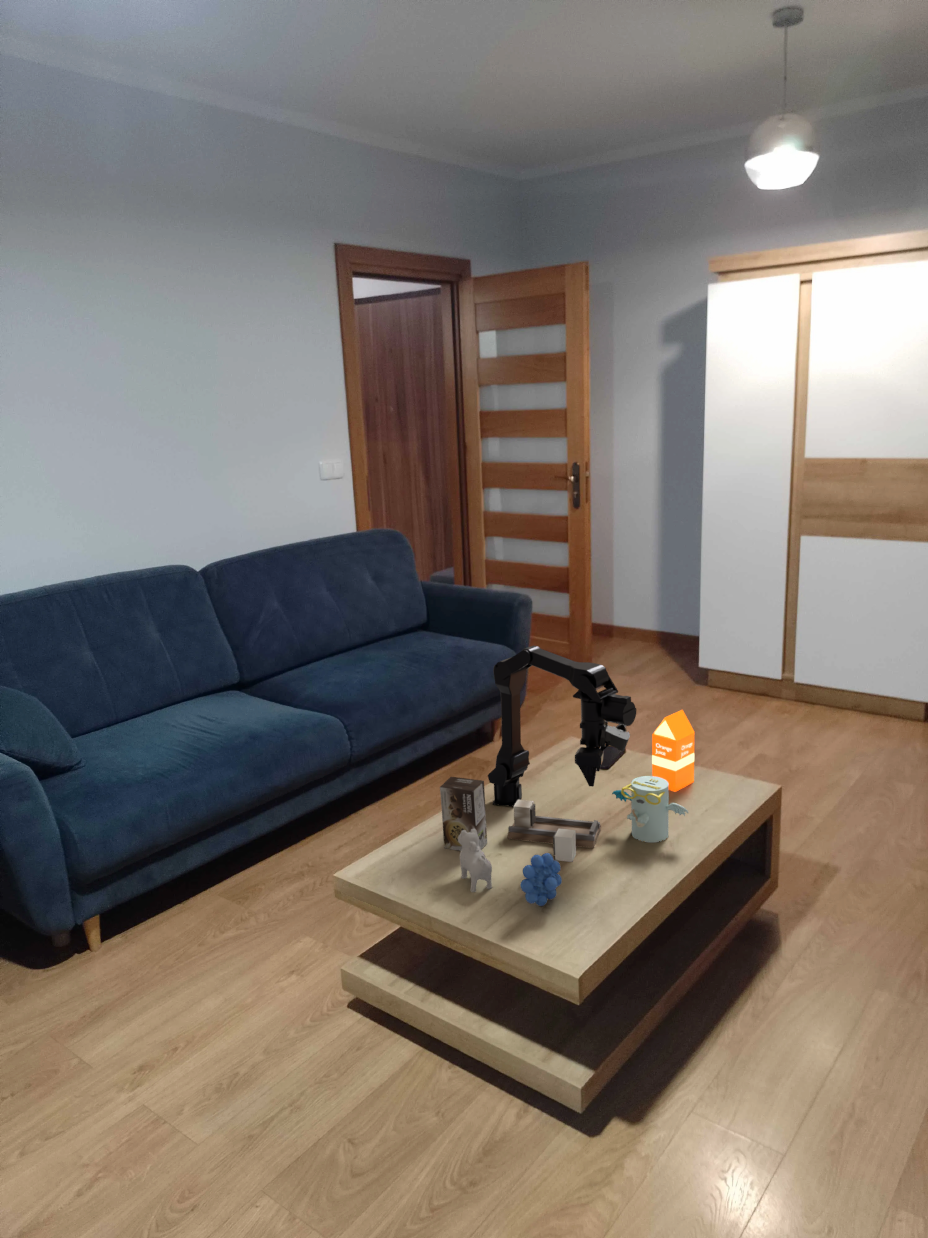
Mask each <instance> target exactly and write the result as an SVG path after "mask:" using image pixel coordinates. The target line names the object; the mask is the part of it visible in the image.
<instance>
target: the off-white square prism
mask: <svg viewBox="0 0 928 1238" xmlns="http://www.w3.org/2000/svg"><path fill="white" fill-rule="evenodd" d="M552 848H553V849H552V851H553V854H552V856H555V857H554V860H556V861H562V862H569V863H573V862H574V859H575V857H576V855H577V846H576V833H575V830H568V829H558V831H556V833H555V835H554V837H553V844H552Z"/></svg>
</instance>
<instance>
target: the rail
mask: <svg viewBox="0 0 928 1238" xmlns="http://www.w3.org/2000/svg"><path fill="white" fill-rule="evenodd" d="M534 802H535V801H534V800H526V799H521V800H517V802H516V803H515V805H514V807H513V824H512V825H509V826H508V827H507V830H508V832H507V839H508V840H514V841H515V840H516V841H523V842H524V841H526V842H532V843H543V844H551V845H553V837H554V835H555V833H556V831H558V829H568V830H575V833H576V847H578V848H586V849H587V848H589V849H594V848H595V845H596V844H597V841H598V838H599V836H600V834H601V831H602V830H601V829H602V827H601V823H600V821H599V820H595V819H594V820H593V821H592V820H591V821H590V820H581V819H580V820H579V819H569V818H560V817H551V816H541V815H536V804H535V803H534Z"/></svg>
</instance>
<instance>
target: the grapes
mask: <svg viewBox="0 0 928 1238" xmlns="http://www.w3.org/2000/svg"><path fill="white" fill-rule="evenodd" d="M560 872H561V864H560V863H559V860H555V859H554V857H553V854H552V853H550V852H544V853H543V854H542V855H540V854H534V855H533V856H531V858H530V864H526V865H525V866H523V867H522V875H523V877H524V879H522V881H521V882H520V889H521V892H522V893H523V892H524V893H525V897H524V898H525V900H526V902H527V903H529V904H530V905H531V904H536V905H537V906H539V907H543V906H545V905H546V904H547V902H548V900H553V899H555V898H556V896H557V893H558V892H557V888H558V887H559V886H561V885H562V882H563V881H562V880H563V878H562V876H561V875H560V874H559V873H560Z"/></svg>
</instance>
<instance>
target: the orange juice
mask: <svg viewBox="0 0 928 1238" xmlns="http://www.w3.org/2000/svg"><path fill="white" fill-rule="evenodd" d="M651 736H652V737H651V740H652V741H651V747H652V748H651V749H652V750H651V751H652V752H651V770H652V771H651V774H652V775H651V776H655V777H660V778H663V779H665V780H667V782H668V784H669V791H671V792H674V793H676V792H678V791H679V790H681V789H684V788H686V787H687V786H689V785H691V784H693V783H694V782H695V730H694V728H693V727H692V724H691V722H690V720H689V719H688V717H687V715H686V713H685V712H684V709H680V710H679V711H676V712H674V713H672V714H669V715H667V716H665V717H664V718H663V719H662V721H661V722H660V724H659V725H658V726H657V727H656V729H655V730H654V732H653V733H652V734H651Z"/></svg>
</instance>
